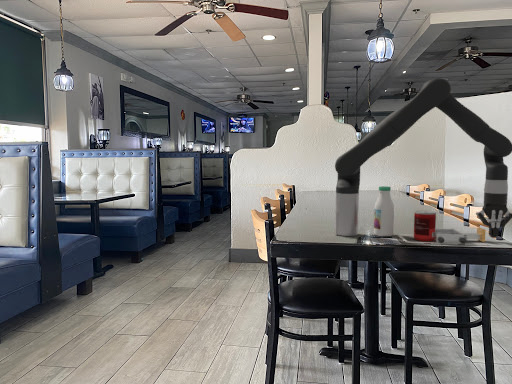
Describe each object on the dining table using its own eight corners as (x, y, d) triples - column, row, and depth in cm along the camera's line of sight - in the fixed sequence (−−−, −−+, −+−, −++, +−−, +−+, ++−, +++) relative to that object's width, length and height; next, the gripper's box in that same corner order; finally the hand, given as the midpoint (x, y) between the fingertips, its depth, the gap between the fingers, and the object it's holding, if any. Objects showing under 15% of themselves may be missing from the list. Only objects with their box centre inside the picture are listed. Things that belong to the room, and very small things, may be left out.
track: (406, 242, 145) (406, 242, 145) (397, 235, 160) (397, 234, 160) (489, 245, 141) (489, 244, 141) (472, 237, 156) (472, 236, 156)
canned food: (430, 237, 155) (431, 210, 154) (438, 241, 147) (439, 213, 146) (410, 237, 156) (411, 210, 155) (417, 241, 148) (418, 212, 147)
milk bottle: (393, 233, 163) (394, 186, 161) (393, 237, 156) (394, 187, 154) (374, 232, 165) (375, 185, 164) (373, 236, 158) (374, 187, 157)
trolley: (437, 242, 143) (437, 230, 143) (425, 235, 158) (425, 224, 158) (491, 244, 141) (491, 232, 140) (474, 236, 156) (474, 225, 155)
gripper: (481, 192, 143) (479, 238, 145) (520, 192, 141) (517, 239, 143) (472, 190, 151) (470, 235, 152) (509, 191, 149) (507, 236, 150)
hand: (493, 237), depth 147 cm, fingers closed
